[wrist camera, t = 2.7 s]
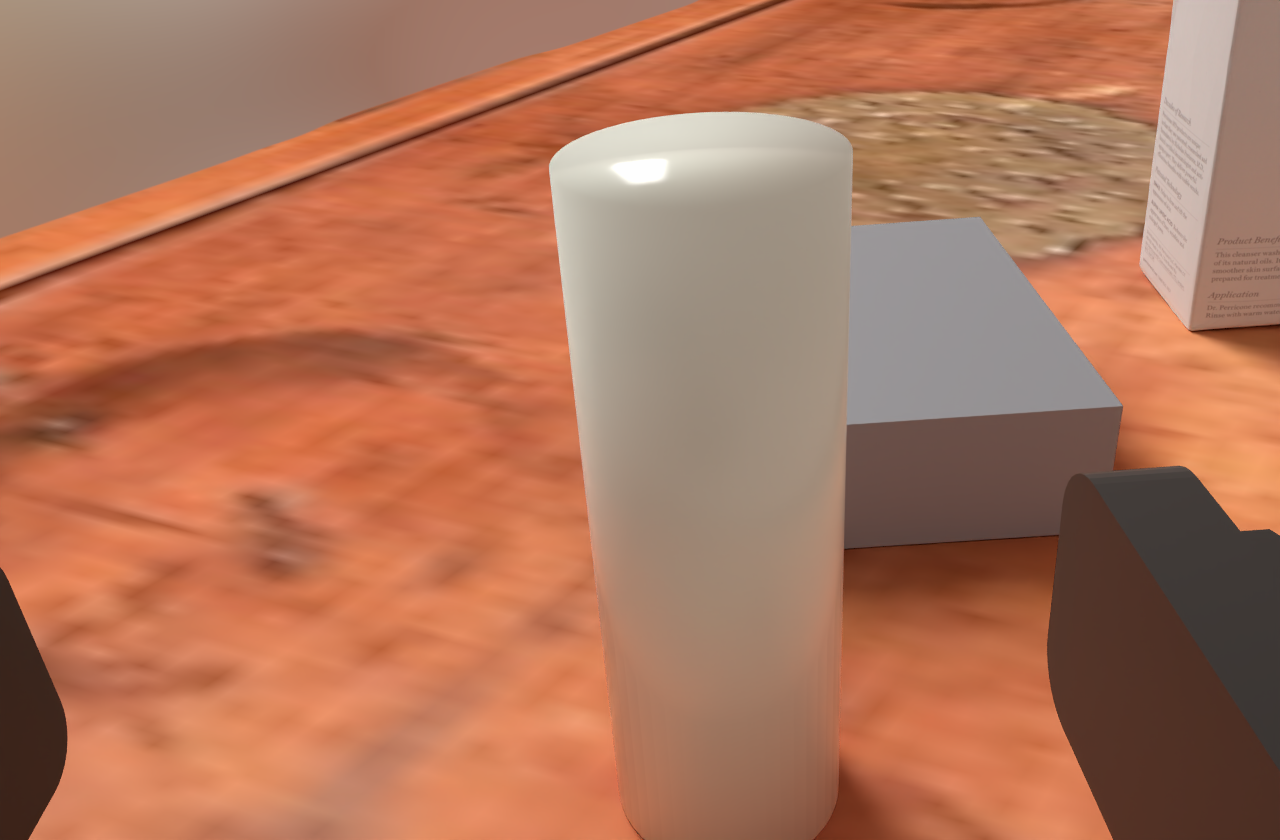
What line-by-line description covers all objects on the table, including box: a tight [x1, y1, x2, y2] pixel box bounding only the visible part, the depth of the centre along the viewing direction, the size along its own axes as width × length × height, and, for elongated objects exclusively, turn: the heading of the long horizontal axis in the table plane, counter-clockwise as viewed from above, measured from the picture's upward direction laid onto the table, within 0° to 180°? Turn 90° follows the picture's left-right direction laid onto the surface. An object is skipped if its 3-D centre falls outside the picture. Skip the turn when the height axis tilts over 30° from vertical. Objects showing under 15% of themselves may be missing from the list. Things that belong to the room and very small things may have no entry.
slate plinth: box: [844, 217, 1123, 549], centre depth 37 cm, size 14×14×4 cm
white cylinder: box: [549, 112, 853, 840], centre depth 22 cm, size 5×5×14 cm
